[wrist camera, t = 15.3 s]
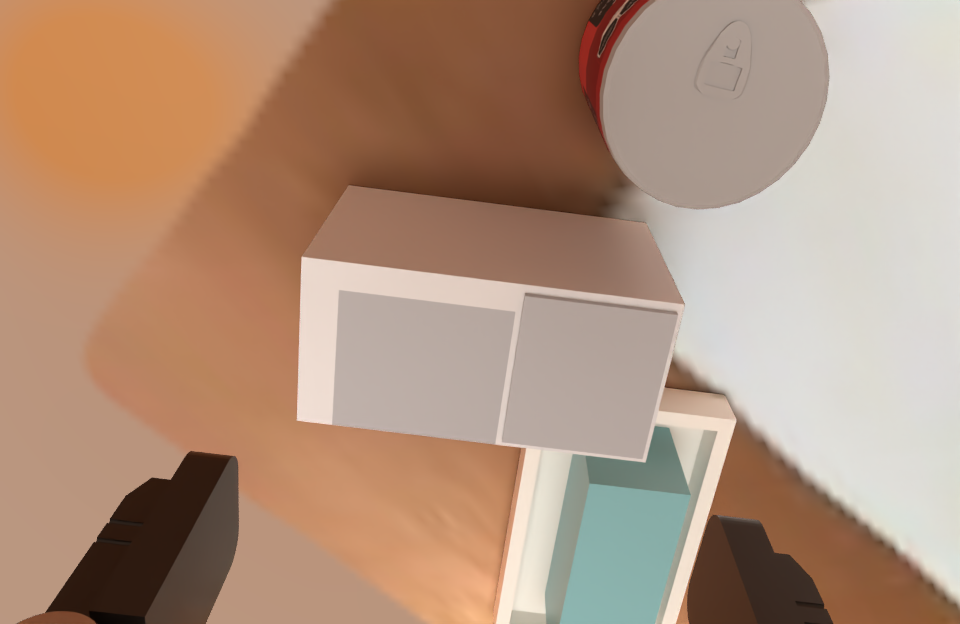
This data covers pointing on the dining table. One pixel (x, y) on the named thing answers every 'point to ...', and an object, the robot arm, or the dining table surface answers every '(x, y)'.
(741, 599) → the robot arm
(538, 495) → the tray
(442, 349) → the box
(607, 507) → the teal box
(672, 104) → the canned food
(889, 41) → the dining table surface
